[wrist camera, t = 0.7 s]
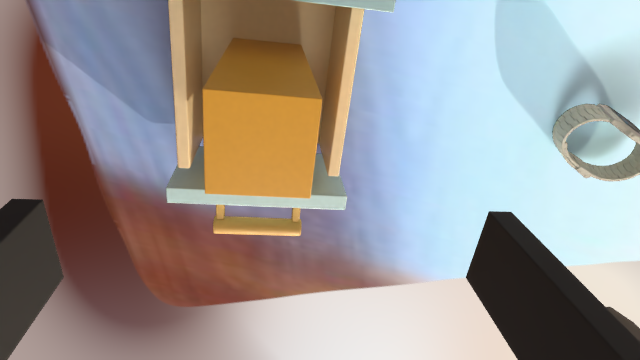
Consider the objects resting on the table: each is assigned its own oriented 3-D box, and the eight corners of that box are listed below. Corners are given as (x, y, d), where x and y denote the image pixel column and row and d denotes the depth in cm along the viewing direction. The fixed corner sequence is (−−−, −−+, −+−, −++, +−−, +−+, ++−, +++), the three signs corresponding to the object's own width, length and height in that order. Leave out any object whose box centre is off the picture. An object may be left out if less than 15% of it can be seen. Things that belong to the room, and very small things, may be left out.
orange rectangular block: (232, 37, 28) (202, 88, 16) (301, 44, 29) (322, 98, 17) (232, 104, 30) (204, 194, 18) (295, 109, 31) (310, 198, 19)
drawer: (325, 206, 37) (336, 256, 31) (189, 200, 35) (170, 252, 29) (361, -44, 28) (389, -48, 21) (177, -70, 26) (144, -83, 19)
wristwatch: (640, 130, 38) (688, 151, 34) (592, 181, 40) (631, 207, 36) (579, 86, 35) (623, 103, 31) (531, 144, 37) (565, 166, 33)
